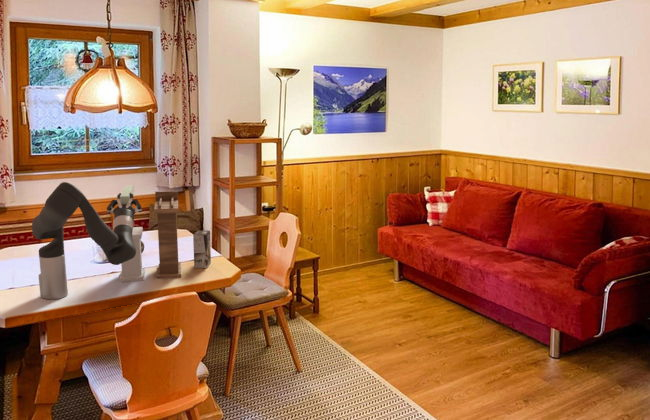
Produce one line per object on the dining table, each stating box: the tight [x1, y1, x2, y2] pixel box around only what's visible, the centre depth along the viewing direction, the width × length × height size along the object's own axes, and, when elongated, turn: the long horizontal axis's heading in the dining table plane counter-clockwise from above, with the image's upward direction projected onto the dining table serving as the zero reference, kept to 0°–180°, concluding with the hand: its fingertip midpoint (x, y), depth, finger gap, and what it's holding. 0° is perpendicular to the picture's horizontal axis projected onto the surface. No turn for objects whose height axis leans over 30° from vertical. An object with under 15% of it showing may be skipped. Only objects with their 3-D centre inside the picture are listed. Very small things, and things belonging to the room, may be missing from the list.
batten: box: [120, 185, 135, 204], centre depth 247 cm, size 26×4×4 cm, turn 14°
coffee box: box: [192, 230, 212, 269], centre depth 274 cm, size 9×6×16 cm
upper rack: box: [153, 190, 182, 280], centre depth 261 cm, size 20×10×36 cm, turn 14°
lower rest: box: [118, 226, 146, 283], centre depth 256 cm, size 14×10×21 cm
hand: (125, 194), depth 240 cm, fingers closed on batten, 3 cm apart
